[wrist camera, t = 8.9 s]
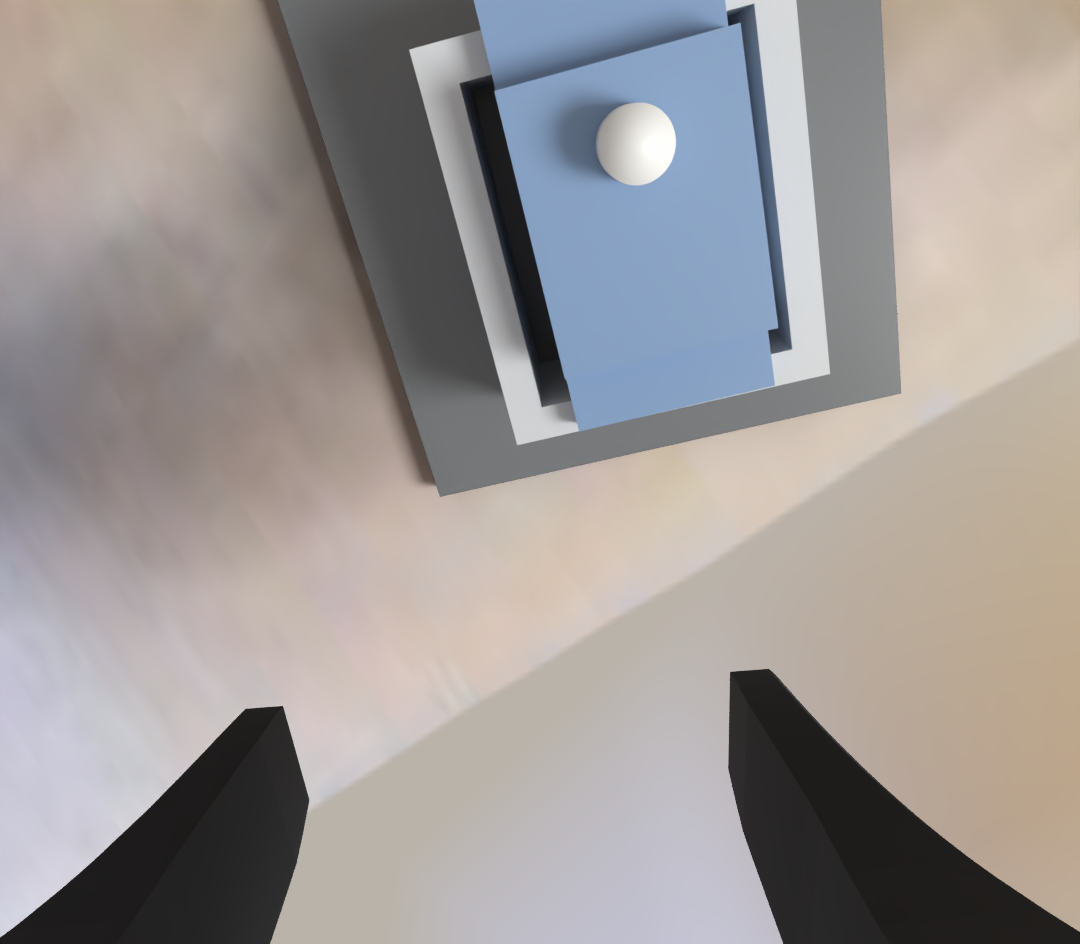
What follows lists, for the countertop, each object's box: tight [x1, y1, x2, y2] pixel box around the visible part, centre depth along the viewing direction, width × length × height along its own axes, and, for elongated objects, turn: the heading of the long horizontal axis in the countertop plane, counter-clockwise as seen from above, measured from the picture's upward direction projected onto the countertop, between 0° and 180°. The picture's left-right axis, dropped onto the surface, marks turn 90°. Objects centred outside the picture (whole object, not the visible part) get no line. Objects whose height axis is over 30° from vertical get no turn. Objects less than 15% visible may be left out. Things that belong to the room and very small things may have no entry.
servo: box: [474, 0, 778, 431], centre depth 15 cm, size 4×8×5 cm, turn 14°
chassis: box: [278, 0, 901, 497], centre depth 17 cm, size 12×12×4 cm
